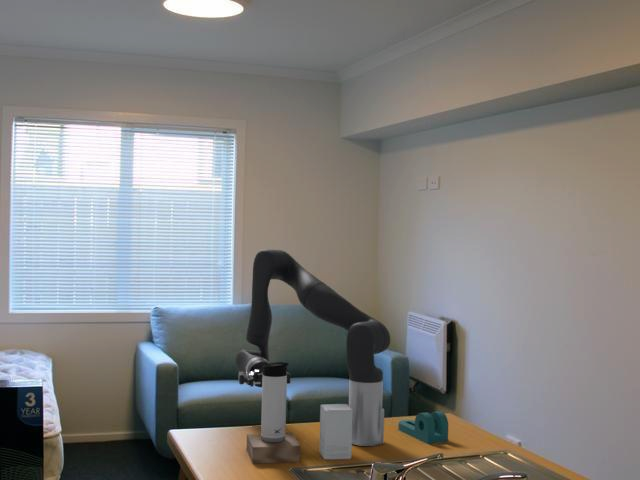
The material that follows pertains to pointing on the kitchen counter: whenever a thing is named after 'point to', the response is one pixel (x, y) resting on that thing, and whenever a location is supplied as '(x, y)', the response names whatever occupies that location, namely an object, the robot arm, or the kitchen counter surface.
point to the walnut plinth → (273, 449)
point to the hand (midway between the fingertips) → (267, 382)
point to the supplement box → (335, 431)
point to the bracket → (427, 427)
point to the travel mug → (274, 402)
